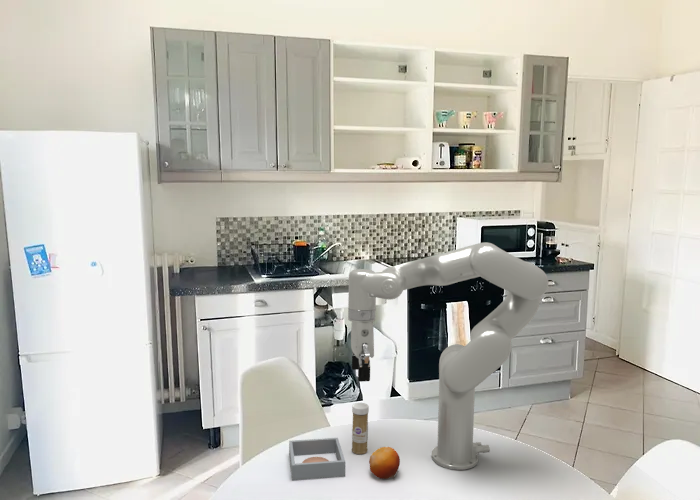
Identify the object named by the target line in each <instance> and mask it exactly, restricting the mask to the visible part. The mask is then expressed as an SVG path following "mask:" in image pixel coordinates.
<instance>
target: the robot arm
mask: <svg viewBox="0 0 700 500" xmlns="http://www.w3.org/2000/svg"><path fill="white" fill-rule="evenodd" d="M479 277H481V278H482V279H483V280H486V281H487V282H490V283H491V284H493V285H495V286H497V287H499V288H501V289H503V290H506V291H507V295H506V297H505V298H504V300H503V301H502V302H501V303H500V304H499V305H498V306H497V307H496V308H494V310H492V311H491V312H490V313H489V314H488V315H487V316H485V317H484V318H483V319H482V320H480V321H479V322H478V323H477V324H476V325H474V326H473V328H472V329H471V331H470V335H469V338H470V341H469V342H467V344H465V345H462V344H452V345H449V346H447V347H446V348H445V349H444V350H443V351H442V353H441V354H440V357H439V363H438V373H439V374H438V379H439V382H438V418H437V419H438V420H437V446H435V447H433V449H432V450H431V452H430V453H431V459H432V461H433V462H434V463H435V464H437V466H440V467H443V468H445V469H449V470H458V471H465V470H469V469H472V468H474V467H475V466H477V465H478V463H479V454H481V453H483V454H484V453H485V454H486V453H490V452H491V447H490V445H489V444H484V445H483V444H482V442H481V441H479V442H478V441H477V442H474V424H475V423H474V422H475V421H474V420H475V401H476V400H475V399H476V397H475V395H476V393H475V392H476V388H477V387H478V386H479V385H481V383H483V382H484V381H485V380H486V379H488V378H489V377H490V376H491V375H492V374H494V372H495V371H497V370H498V369H499V368H500V367H502V366H503V365H504V363H505V362H506V361H507V359H509V357H510V354H511V352H512V340H513V339H514V338H515V337H516V336H517V335H518V334H519V333H520V332H521V331H522V330H523V329H525V327H526V326H527V325H528V324H530V323H531V322H532V320H533V318H534V317H535V316H536V314H537V312H538V309H539V307H540V304H541V298H542V297H543V295H545V294H546V292H547V291H548V289H549V288H548V287H549V279H548V276H547V274H546V272H545V271H544V270H543V269H541V268H540V267H538V266H537V265H535V264H534V263H532V262H529V261H525V260H523V259H521V258H519V257H517V256H515V255H513V254H511V253H509V252H507V251H505V250H504V249H502V248H500V247H498V246H497V245H495V244H494V243H491V242H479V243H475V244H472V245H471V244H470V245H468V246H464V247H461V248H457V249H453V250H450V251H447V252H443V253H438V254H435V255H431V256H427V257H424V258H421V259H419V258H418V259H416V260H411V261H407V262H403V263H399V264H397V265H393V266H390V267H386V268H385V269H383V270H382V271H381V272H375V271H374V270H373V269H362V268H357V269H356V268H355V269H352V270H351V271H350V272H349V273H348V299H347V301H348V303H347V304H348V305H347V309H348V310H347V311H348V312H347V319H348V321H349V322H351V330H350V333H351V334H350V347H351V351H352V353H351V354H352V355H351V370H352V371H357V381H358V382H361V383H362V382H370V381H371V360H370V358H372V359H373V358H374V356H375V339H374V338H375V337H374V335H375V333H374V323H373V322H375V321H376V314H377V313H376V308H377V307H376V305H377V304H376V303H377V298H378V299H382V300H387V301H388V300H395V299H398V298H399V297H400V296H401V294H402V293H403V291H407V290H410V289H413V288H417V287H423V286H438V287H439V286H441V287H442V286H449V285H453V284H455V283H458V282H463V281H468V280H470V279H476V278H479Z"/></svg>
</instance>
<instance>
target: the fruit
mask: <svg viewBox="0 0 700 500" xmlns="http://www.w3.org/2000/svg"><path fill="white" fill-rule="evenodd" d="M368 463H369V470H370V472H371V474H373V475H374V477H376V478H378V479H380V480H381V479H382V480H387V479H395V476H396V474H397V473H398V472H399V469H400V464H401V459H400V455H399V453H398V452H397V451H396V450H395V449H394V448H393V447H391V446H382V447H380V448H377V449H376V450H374V451H373V452H372V453H371V455H370V456H369V461H368Z"/></svg>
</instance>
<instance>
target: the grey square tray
mask: <svg viewBox="0 0 700 500" xmlns="http://www.w3.org/2000/svg"><path fill="white" fill-rule="evenodd" d="M288 444H289V445H288V455H289V456H288V457H289V465H290V466H289V467H290V474H291V475H290V476H291V481H302V480H303V481H304V480H305V481H306V480H318V479H319V480H320V479H331V478H344V477H346V459H345V456H344V453H343V450H342V446H341V443H340V440H339V438H338V437H327V438H326V437H325V438H313V439H309V438H308V439H299V440H297V439H294V440H289V442H288ZM323 454H325V455H326V454H335V457H336V460H329V459H328V458H326V457H324V456H310V457H307V458H305V459H303V461H302V462H300V463H299V462H297V463H295V456H307V455H323Z"/></svg>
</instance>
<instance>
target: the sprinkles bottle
mask: <svg viewBox="0 0 700 500" xmlns="http://www.w3.org/2000/svg"><path fill="white" fill-rule="evenodd" d="M351 407H352V410H351V411H352V429H351V432H352V433H351V434H352V435H351V440H352V441H351V442H352V443H351V445H352V446H351V447H352V448H351V451H352V453H353V454H356V455H365V454H366V453H367V452H368V440H369V439H368V438H369V436H368V434H369V433H368V432H369V431H368V430H369V428H368V427H369V421H368V420H369V409H370V408H369V407H370V406H369V405H368V404H367V403H365V402H356V403H353V404H352V406H351Z"/></svg>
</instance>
